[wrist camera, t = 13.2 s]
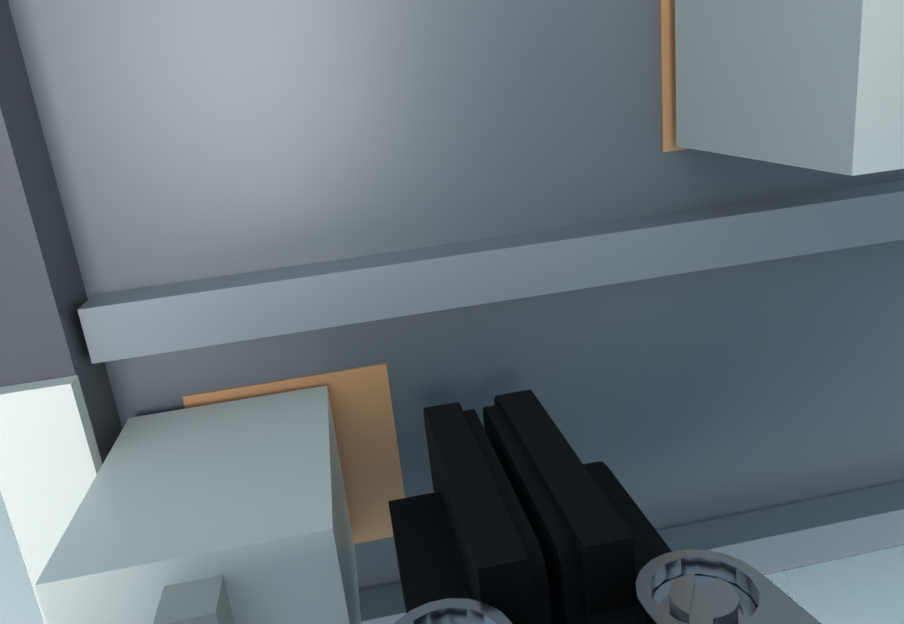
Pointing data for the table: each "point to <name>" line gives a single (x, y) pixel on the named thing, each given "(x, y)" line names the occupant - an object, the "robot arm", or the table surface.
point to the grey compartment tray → (437, 263)
